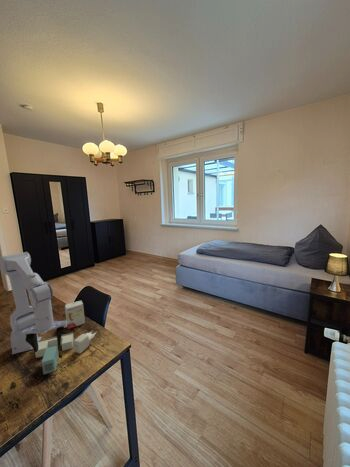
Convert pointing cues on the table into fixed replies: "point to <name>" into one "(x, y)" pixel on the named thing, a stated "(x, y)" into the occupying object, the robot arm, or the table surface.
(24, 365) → the table surface
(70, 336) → the block
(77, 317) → the ink box
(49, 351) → the grey-green boxy piece
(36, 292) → the robot arm
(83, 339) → the power adapter
